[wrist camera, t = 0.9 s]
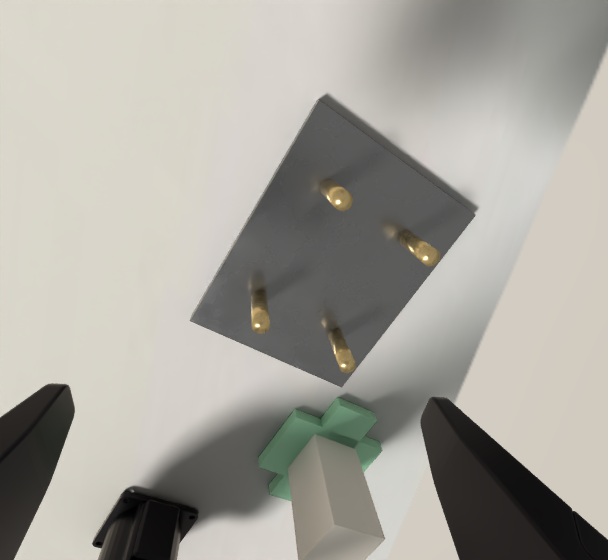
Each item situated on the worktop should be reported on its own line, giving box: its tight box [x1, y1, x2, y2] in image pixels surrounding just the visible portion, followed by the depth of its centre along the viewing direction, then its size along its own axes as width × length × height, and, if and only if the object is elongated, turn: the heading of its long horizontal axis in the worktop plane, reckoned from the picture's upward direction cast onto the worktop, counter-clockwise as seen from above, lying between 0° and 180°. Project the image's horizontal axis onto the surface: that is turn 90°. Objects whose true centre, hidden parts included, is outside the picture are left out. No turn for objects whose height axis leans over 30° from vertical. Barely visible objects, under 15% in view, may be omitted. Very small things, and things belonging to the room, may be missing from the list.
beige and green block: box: [258, 397, 385, 560], centre depth 27 cm, size 10×8×8 cm
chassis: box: [190, 100, 475, 387], centre depth 22 cm, size 15×12×4 cm
